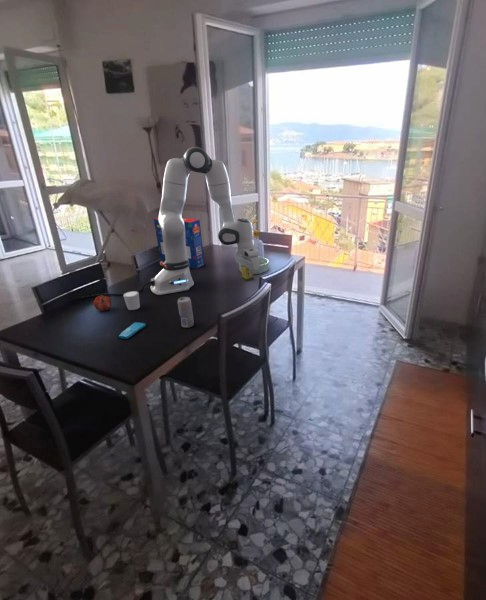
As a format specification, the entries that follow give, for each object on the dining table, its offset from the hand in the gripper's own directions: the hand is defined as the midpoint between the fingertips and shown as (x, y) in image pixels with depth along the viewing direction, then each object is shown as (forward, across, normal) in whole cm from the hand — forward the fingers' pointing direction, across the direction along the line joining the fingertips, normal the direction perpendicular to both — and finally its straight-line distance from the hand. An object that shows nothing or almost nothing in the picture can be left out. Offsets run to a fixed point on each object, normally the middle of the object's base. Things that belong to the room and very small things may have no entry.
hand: (247, 273), depth 195 cm
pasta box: (+3, -48, -19) cm, 52 cm away
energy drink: (+3, +30, -47) cm, 56 cm away
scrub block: (+3, 0, 0) cm, 3 cm away
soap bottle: (+3, -27, +23) cm, 35 cm away
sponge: (+3, +21, -68) cm, 71 cm away
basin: (+3, -11, +11) cm, 16 cm away
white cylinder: (+3, -2, -61) cm, 61 cm away
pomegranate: (+3, -8, -73) cm, 74 cm away
